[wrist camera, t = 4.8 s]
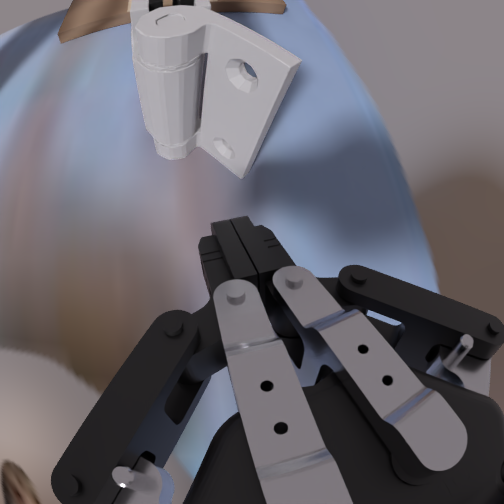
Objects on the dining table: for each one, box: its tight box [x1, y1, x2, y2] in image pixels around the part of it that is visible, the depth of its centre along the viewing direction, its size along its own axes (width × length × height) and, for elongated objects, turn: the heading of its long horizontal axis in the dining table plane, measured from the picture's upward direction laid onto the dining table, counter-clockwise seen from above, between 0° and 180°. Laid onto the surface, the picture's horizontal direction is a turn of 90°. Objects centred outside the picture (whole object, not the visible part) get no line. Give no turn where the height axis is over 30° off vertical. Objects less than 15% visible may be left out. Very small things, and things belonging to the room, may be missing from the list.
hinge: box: [130, 0, 302, 179], centre depth 13 cm, size 14×5×10 cm, turn 25°
